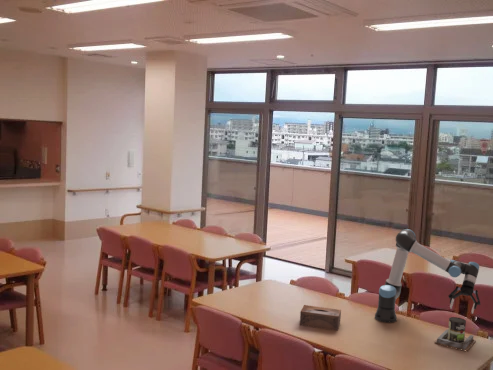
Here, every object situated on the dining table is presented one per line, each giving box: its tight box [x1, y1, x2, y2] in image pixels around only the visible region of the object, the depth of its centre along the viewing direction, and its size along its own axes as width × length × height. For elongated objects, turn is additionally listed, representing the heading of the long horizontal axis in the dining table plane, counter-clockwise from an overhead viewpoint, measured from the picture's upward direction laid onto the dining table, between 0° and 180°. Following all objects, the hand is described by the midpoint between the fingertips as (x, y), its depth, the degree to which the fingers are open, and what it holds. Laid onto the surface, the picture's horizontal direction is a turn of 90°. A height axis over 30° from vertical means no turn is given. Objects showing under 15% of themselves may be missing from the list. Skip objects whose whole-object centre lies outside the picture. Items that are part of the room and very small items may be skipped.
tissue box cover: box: [299, 304, 342, 331], centre depth 369 cm, size 26×14×10 cm, turn 74°
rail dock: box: [434, 328, 476, 352], centre depth 348 cm, size 20×22×4 cm
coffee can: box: [447, 316, 467, 344], centre depth 347 cm, size 10×10×14 cm
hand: (461, 310), depth 355 cm, fingers open, 13 cm apart
